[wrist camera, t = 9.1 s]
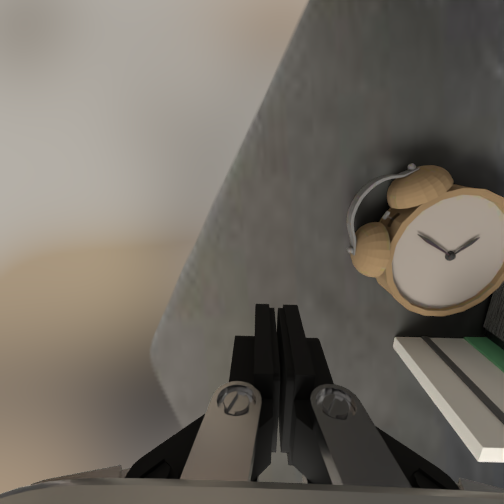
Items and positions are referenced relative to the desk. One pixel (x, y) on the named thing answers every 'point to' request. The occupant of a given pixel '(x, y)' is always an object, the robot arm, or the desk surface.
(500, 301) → the grey t-shaped piece
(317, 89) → the desk surface
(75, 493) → the robot arm
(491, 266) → the alarm clock
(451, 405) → the board
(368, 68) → the desk surface
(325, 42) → the desk surface
